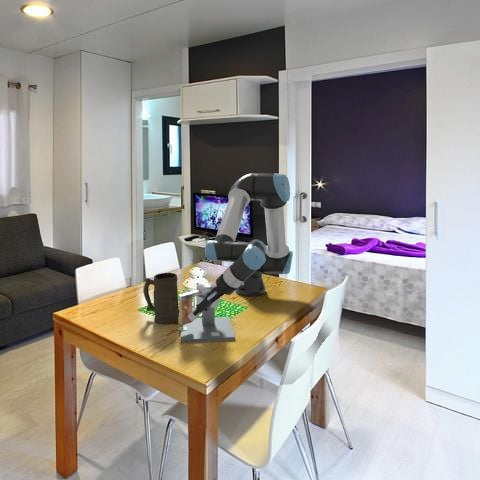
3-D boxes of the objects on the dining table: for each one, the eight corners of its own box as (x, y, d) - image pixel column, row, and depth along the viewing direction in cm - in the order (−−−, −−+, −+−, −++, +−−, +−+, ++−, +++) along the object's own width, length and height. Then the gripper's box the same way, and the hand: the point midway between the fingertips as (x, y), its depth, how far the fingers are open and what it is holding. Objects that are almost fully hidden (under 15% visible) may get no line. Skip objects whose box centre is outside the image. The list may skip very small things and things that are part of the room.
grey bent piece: (209, 310, 172) (209, 280, 169) (224, 315, 165) (224, 285, 163) (173, 321, 159) (173, 290, 157) (188, 328, 153) (187, 295, 150)
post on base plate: (229, 319, 173) (229, 289, 171) (235, 339, 154) (235, 306, 151) (178, 322, 170) (178, 291, 168) (178, 343, 151) (177, 308, 148)
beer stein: (183, 315, 178) (179, 271, 175) (179, 324, 168) (174, 278, 164) (149, 316, 179) (144, 273, 175) (142, 326, 169) (137, 280, 165)
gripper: (229, 293, 140) (187, 332, 150) (244, 283, 152) (205, 320, 161) (215, 277, 141) (175, 316, 151) (231, 268, 153) (192, 305, 163)
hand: (190, 318), depth 156 cm, fingers closed
